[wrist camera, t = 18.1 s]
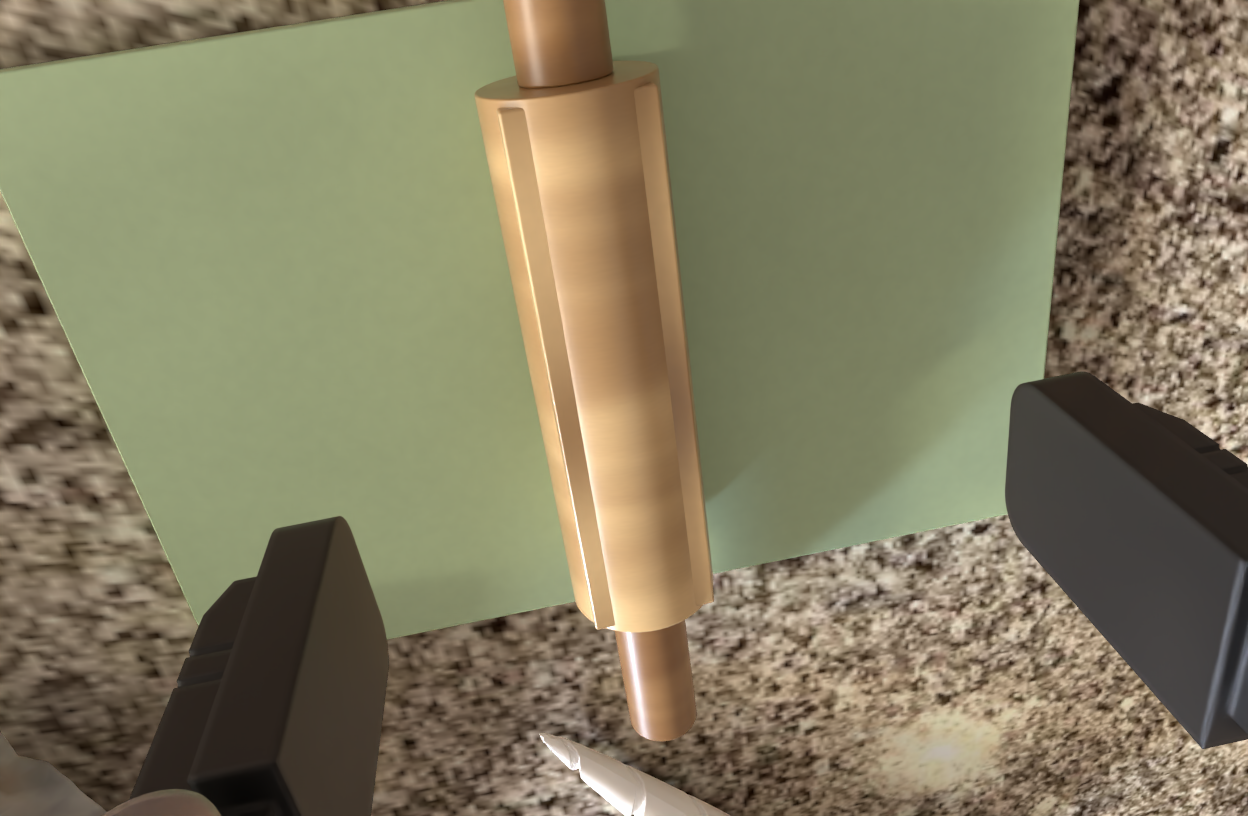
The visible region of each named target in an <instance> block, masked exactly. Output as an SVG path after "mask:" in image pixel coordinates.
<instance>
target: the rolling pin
mask: <svg viewBox="0 0 1248 816" xmlns="http://www.w3.org/2000/svg"><path fill="white" fill-rule="evenodd" d="M503 3H504V9H505V15H506V20H507V26H508V32H509V37H510V43H511V49H512V54H513V60H514V65H515V71H516V76H512V77H508V78H505V79H501V80H498V81H495V82H492V83H490V84H487V85H485V86H483V87H481V88H480V89H478V90H477V91H476V92H475V96H474V97H475V102H476V107H477V112H478V117H479V122H480V127H481V132H482V137H483V142H484V147H485V152H486V157H487V162H488V167H489V172H490V177H491V182H492V187H493V192H494V197H495V202H496V207H497V212H498V217H499V222H500V227H501V232H502V237H503V242H504V247H505V252H506V257H507V262H508V267H509V272H510V277H511V282H512V287H513V292H514V297H515V302H516V307H517V312H518V317H519V322H520V327H521V332H522V337H523V342H524V347H525V352H526V357H527V362H528V367H529V372H530V377H531V382H532V387H533V392H534V397H535V402H536V407H537V412H538V417H539V422H540V427H541V432H542V437H543V442H544V447H545V452H546V457H547V462H548V467H549V472H550V477H551V482H552V487H553V492H554V497H555V502H556V507H557V512H558V517H559V522H560V527H561V532H562V537H563V542H564V547H565V552H566V557H567V562H568V567H569V572H570V577H571V582H572V587H573V592H574V597H575V601H576V604H577V606H578V608H579V609H580V611H581V612H582V613H583V614H584V615H585V616H586V617H587V618H588V619H589V620H590V621H592V622H594V624H595V628H596V629H597V630H599V629H603V628H607V629H611V630H615V635H616V641H617V646H618V652H619V658H620V663H621V669H622V675H623V680H624V686H625V692H626V697H627V703H628V708H629V714H630V720H631V724H632V726H633V728H634V729H635V731H636V732H637V733H638V734H639V735H641V736H642V737H644V738H646V739H649V740H653V741H669V740H673V739H676V738H679V737H681V736H682V735H684V734H685V733H687V732H688V731H689V730H690V729H691V727H692V726H693V724H694V722H695V720H696V716H697V710H696V702H695V694H694V687H693V679H692V671H691V663H690V656H689V648H688V640H687V632H686V625H685V619H687V618H688V617H690V616H691V615H693V614H694V613H695V612H696V611H698V610H699V609H700V608H701V607H702V606H703V604H707V603H712V602H713V601H714V595H713V571H712V561H711V552H710V543H709V533H708V524H707V515H706V505H705V496H704V487H703V477H702V468H701V459H700V449H699V440H698V431H697V421H696V412H695V403H694V394H693V384H692V375H691V366H690V356H689V347H688V338H687V328H686V319H685V310H684V300H683V291H682V282H681V272H680V263H679V254H678V244H677V235H676V226H675V216H674V207H673V198H672V188H671V179H670V170H669V160H668V151H667V142H666V133H665V123H664V114H663V105H662V95H661V86H660V77H659V68H658V66H657V65H656V64H654V63H651V62H646V61H613V60H612V52H611V44H610V37H609V29H608V21H607V13H606V6H605V0H503Z"/></svg>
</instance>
